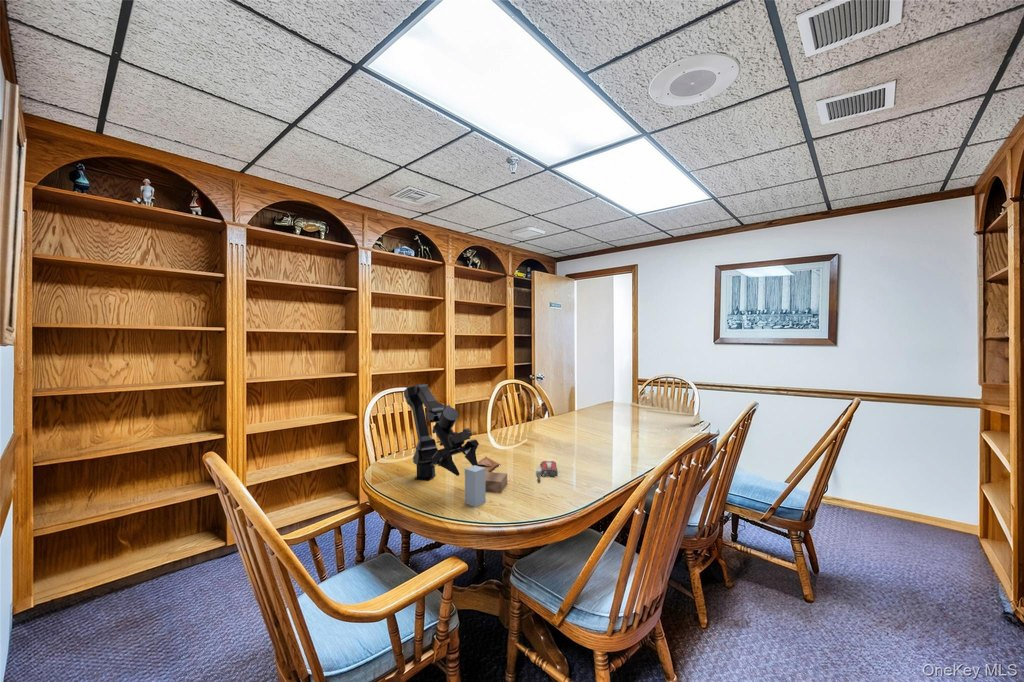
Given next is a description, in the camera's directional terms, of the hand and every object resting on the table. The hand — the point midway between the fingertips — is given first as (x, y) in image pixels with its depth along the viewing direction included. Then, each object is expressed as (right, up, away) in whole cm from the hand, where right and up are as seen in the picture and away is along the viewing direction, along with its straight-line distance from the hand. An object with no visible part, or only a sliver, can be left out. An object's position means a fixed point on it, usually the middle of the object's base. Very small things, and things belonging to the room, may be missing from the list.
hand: (468, 471), depth 139 cm
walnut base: (+8, -10, +12) cm, 18 cm away
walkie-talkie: (+30, -10, +26) cm, 41 cm away
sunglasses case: (+4, -10, +32) cm, 34 cm away
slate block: (+3, -10, -2) cm, 11 cm away
